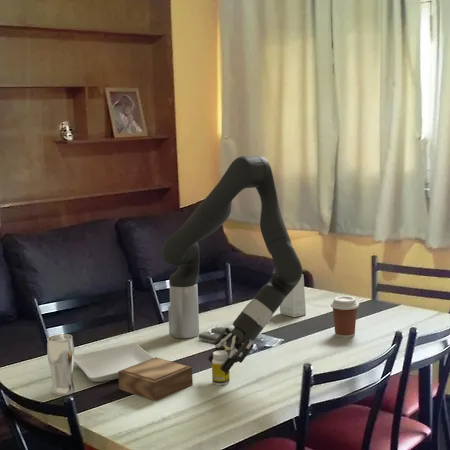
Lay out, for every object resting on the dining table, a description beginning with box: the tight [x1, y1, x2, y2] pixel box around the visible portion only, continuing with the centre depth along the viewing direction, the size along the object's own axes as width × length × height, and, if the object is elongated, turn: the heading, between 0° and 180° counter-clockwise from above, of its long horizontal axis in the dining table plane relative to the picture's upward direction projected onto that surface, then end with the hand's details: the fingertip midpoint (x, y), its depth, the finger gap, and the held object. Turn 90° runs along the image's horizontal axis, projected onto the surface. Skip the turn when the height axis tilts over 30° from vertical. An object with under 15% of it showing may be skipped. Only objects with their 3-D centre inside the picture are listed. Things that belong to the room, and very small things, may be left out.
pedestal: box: [118, 357, 194, 402], centre depth 198 cm, size 14×14×5 cm
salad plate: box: [74, 343, 155, 383], centre depth 213 cm, size 21×21×3 cm
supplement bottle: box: [211, 350, 231, 386], centre depth 200 cm, size 5×5×8 cm
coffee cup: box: [330, 295, 360, 338], centre depth 238 cm, size 9×9×12 cm
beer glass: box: [46, 333, 76, 397], centre depth 196 cm, size 7×7×15 cm
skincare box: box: [279, 273, 307, 318], centre depth 264 cm, size 8×6×15 cm
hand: (216, 366), depth 199 cm, fingers open, 8 cm apart
